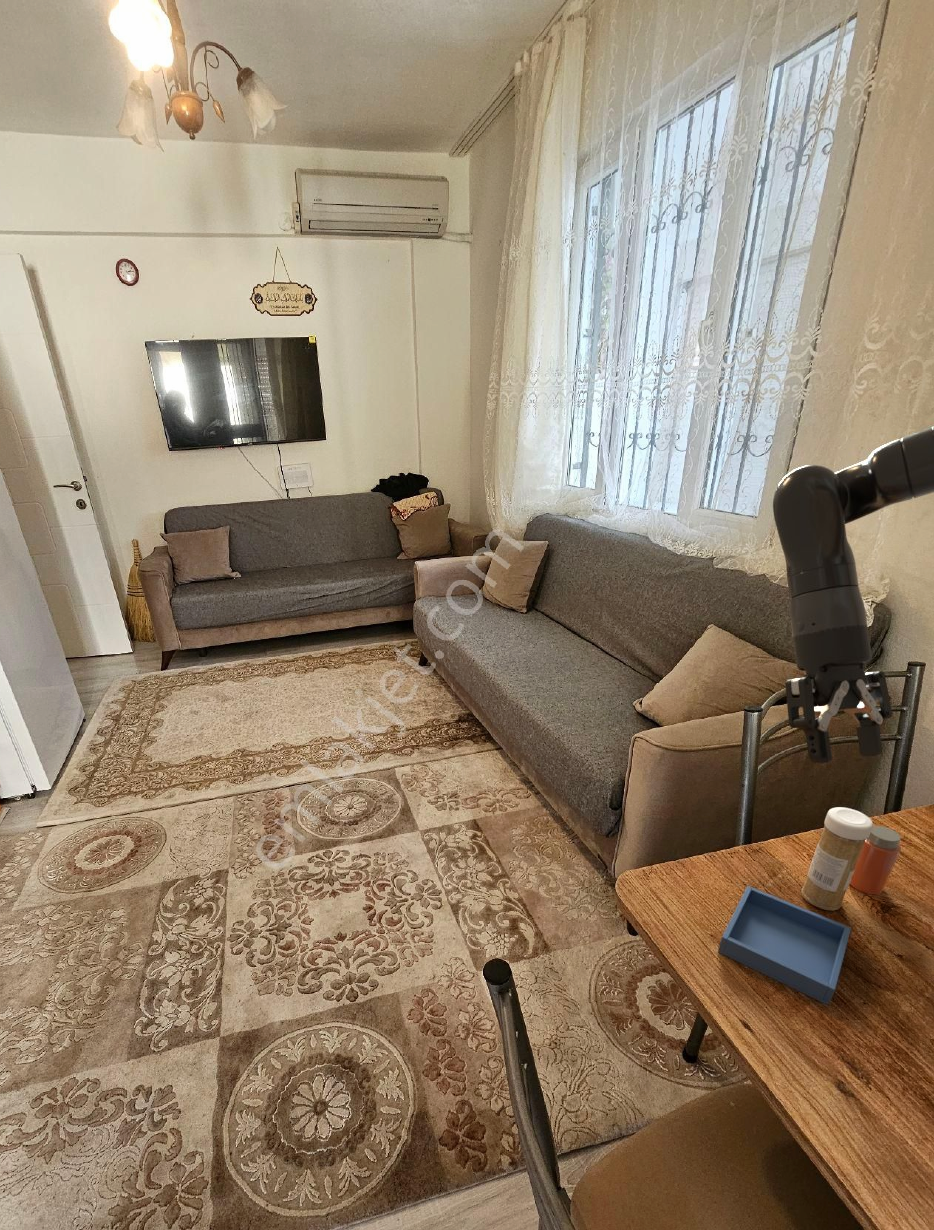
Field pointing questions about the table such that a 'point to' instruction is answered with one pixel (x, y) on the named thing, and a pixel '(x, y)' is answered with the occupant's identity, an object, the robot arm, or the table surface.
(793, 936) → the blue tray
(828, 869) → the sprinkles bottle
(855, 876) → the terracotta shaker
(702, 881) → the table surface
